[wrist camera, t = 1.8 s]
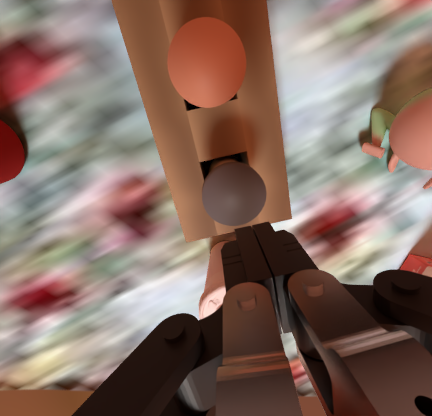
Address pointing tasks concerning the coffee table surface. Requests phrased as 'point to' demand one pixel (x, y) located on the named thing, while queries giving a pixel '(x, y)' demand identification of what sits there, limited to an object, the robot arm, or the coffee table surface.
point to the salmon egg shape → (206, 62)
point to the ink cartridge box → (418, 265)
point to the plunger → (233, 192)
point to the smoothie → (213, 284)
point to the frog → (405, 133)
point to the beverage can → (10, 153)
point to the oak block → (208, 117)
